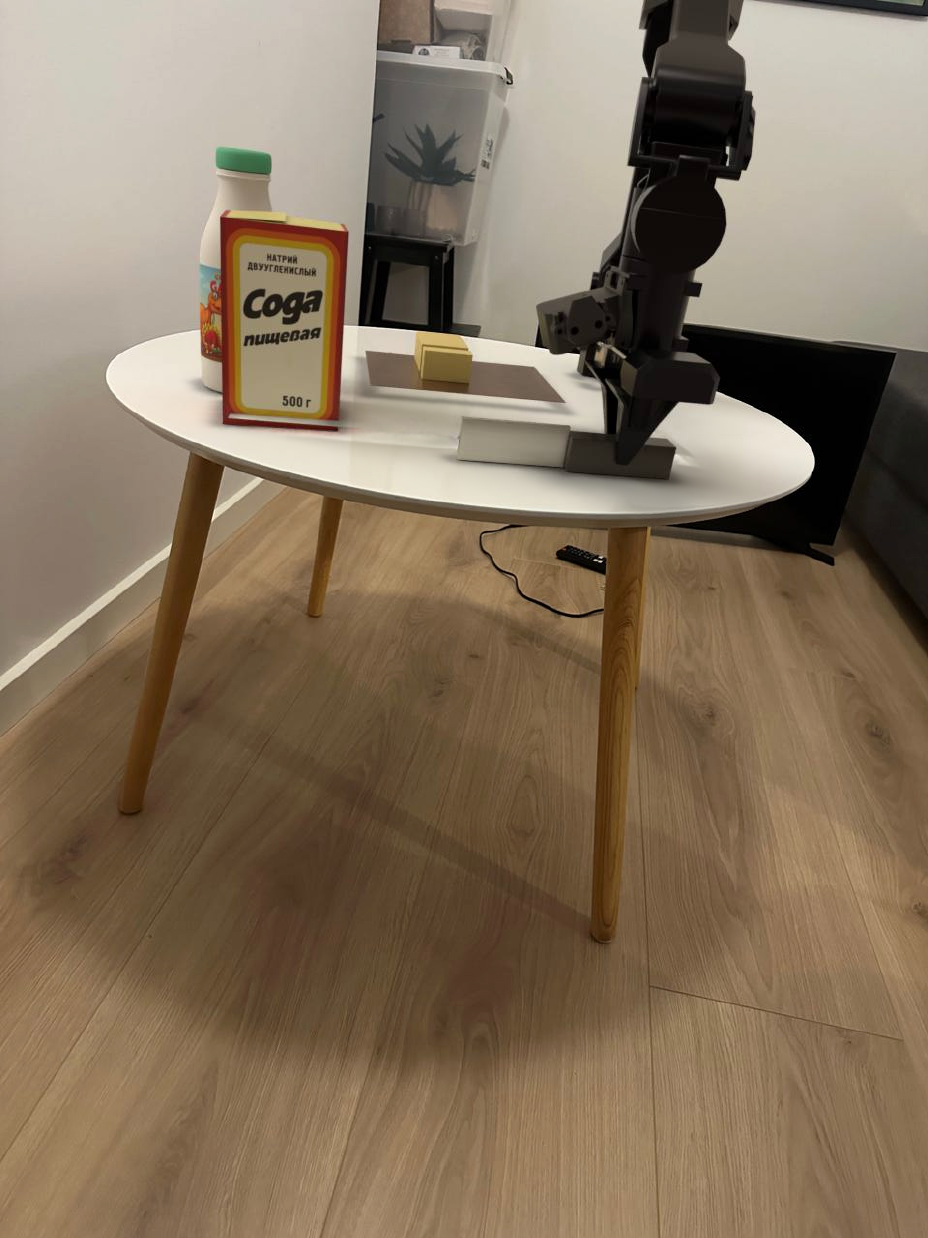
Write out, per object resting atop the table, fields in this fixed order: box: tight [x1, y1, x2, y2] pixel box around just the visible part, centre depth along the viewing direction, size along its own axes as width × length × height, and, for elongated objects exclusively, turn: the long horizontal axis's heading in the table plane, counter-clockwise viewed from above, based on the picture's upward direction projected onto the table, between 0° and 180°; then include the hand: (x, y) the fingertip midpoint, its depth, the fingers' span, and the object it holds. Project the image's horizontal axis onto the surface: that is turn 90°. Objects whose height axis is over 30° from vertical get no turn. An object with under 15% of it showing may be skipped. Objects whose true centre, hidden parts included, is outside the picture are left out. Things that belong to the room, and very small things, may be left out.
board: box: [365, 350, 567, 404], centre depth 93 cm, size 20×16×1 cm
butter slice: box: [421, 347, 474, 384], centre depth 89 cm, size 5×2×3 cm, turn 98°
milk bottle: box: [198, 146, 274, 393], centre depth 77 cm, size 8×8×20 cm
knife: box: [456, 415, 677, 480], centre depth 71 cm, size 18×2×4 cm, turn 98°
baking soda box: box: [220, 210, 350, 433], centre depth 71 cm, size 10×6×16 cm
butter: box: [413, 330, 469, 372], centre depth 94 cm, size 5×7×3 cm
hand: (616, 459), depth 72 cm, fingers closed on knife, 2 cm apart
